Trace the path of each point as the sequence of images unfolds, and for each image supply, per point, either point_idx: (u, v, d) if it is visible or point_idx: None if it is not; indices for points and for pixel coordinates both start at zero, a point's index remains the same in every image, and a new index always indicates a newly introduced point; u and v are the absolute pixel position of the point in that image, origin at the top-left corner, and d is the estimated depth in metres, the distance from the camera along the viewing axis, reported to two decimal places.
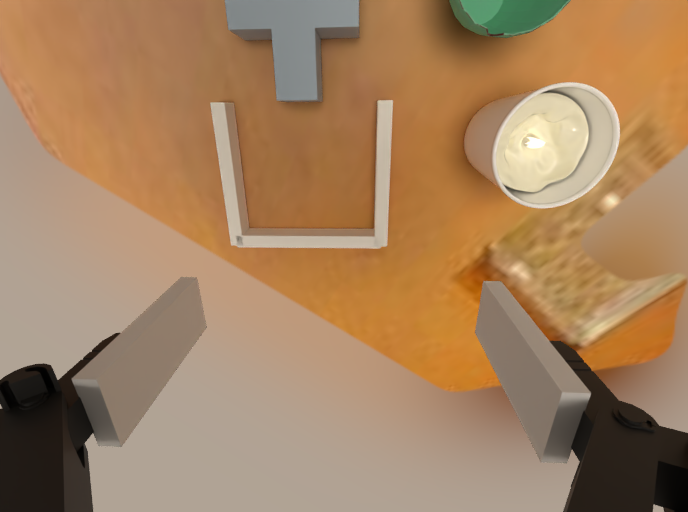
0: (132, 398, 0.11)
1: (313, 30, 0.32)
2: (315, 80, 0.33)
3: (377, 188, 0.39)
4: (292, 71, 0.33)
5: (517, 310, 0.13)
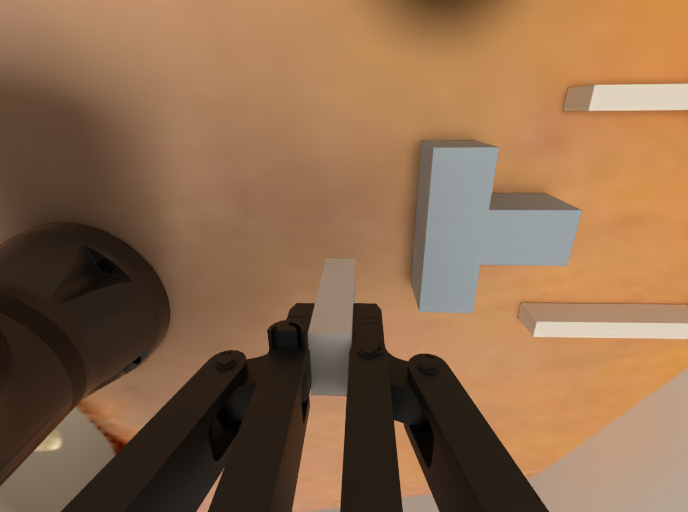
0: None
1: (492, 211, 0.23)
2: (555, 211, 0.23)
3: None
4: (536, 242, 0.24)
5: (347, 279, 0.15)
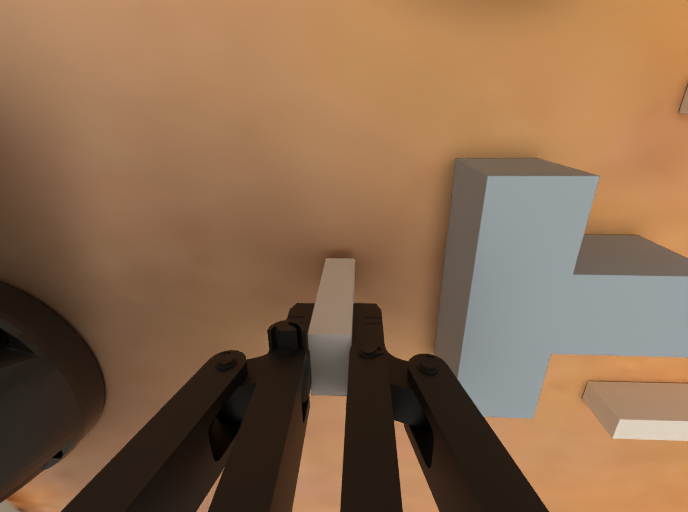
0: None
1: (577, 277, 0.14)
2: (682, 278, 0.14)
3: None
4: (644, 323, 0.15)
5: (347, 279, 0.15)
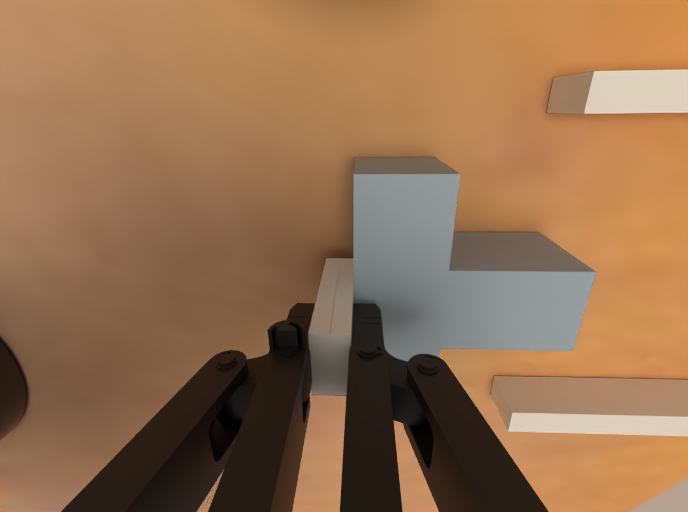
0: None
1: (453, 273, 0.15)
2: (553, 274, 0.14)
3: None
4: (524, 318, 0.15)
5: (347, 279, 0.15)
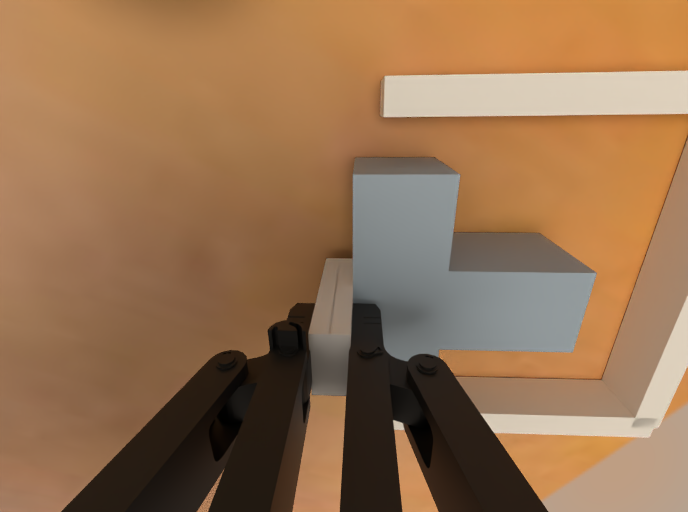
0: None
1: (453, 274, 0.15)
2: (553, 275, 0.14)
3: (614, 109, 0.14)
4: (524, 319, 0.15)
5: (347, 279, 0.15)
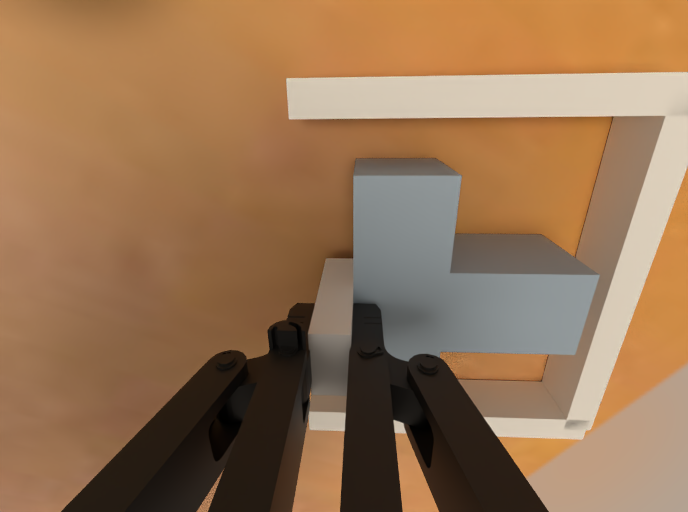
0: None
1: (455, 275, 0.14)
2: (556, 276, 0.14)
3: (515, 112, 0.14)
4: (526, 321, 0.15)
5: (347, 279, 0.15)
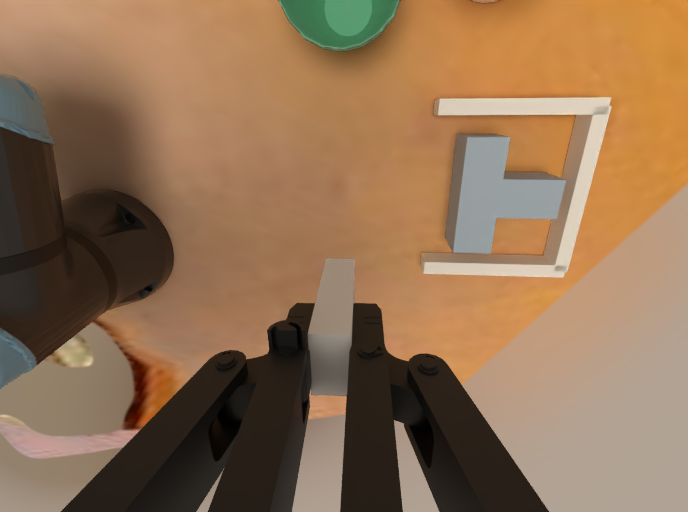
0: None
1: (505, 180, 0.35)
2: (548, 181, 0.34)
3: (532, 112, 0.34)
4: (535, 202, 0.35)
5: (347, 279, 0.15)
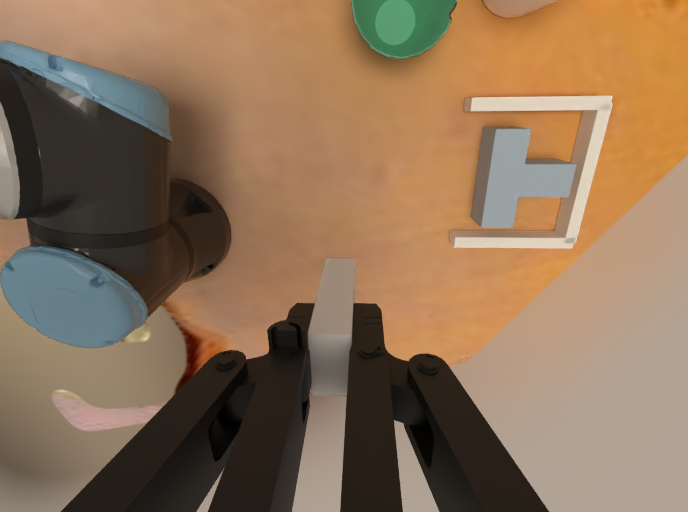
0: None
1: (526, 165, 0.42)
2: (561, 165, 0.41)
3: (548, 108, 0.41)
4: (550, 183, 0.42)
5: (347, 279, 0.15)
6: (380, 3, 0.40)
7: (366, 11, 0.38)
